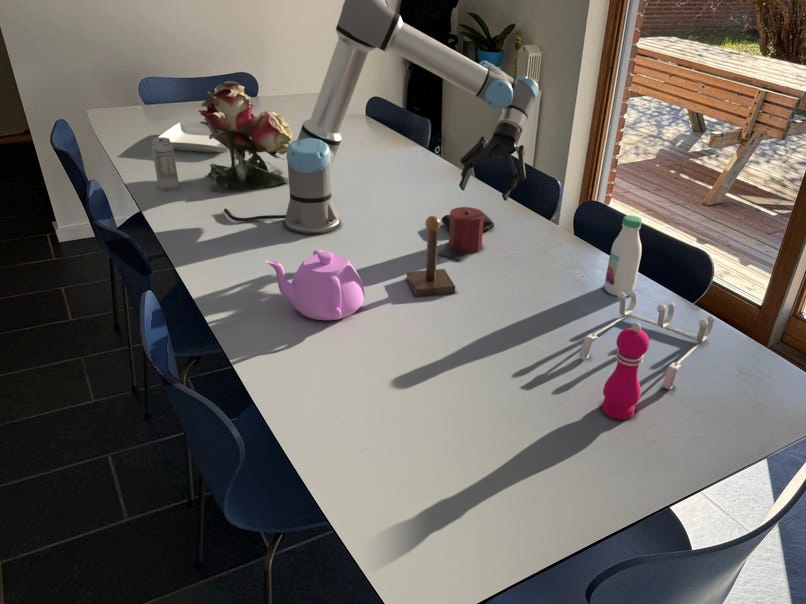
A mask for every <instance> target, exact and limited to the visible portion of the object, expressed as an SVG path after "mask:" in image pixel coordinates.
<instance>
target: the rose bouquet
mask: <svg viewBox="0 0 806 604" xmlns="http://www.w3.org/2000/svg"><path fill="white" fill-rule="evenodd" d="M245 88H246V87H245V86H243V85H240V84H239V82H237V81H229V80H228V81H225V82H224V83H219V84H218V85H217V86H216V87H215V88H214V92H213V93H211V92H210V91H207V92H206V95H207V96H209V97H210V99H209V98H208V99H206V100H204V101H203V102H202V104H201V107H206V109H199V110H198V111H197V112H198V113H199V115H200V116H201V117H204V118H203V121H202V120H201V121H199V123H201V124H202V125H204V126H208V127H209V129H210V131H211V133H212V134H211V135H210V136H209V139H212V138H214V139H215V140H217V141H219V142H220V143H221V144H223V145H224V146H225V147H227V148H228V149H229V151H228V152H229V156H230V161H231V164H230V166H225V165H220V164H219V165H218V164H215V163H210V164H208V166H210V171H209V172H208V174H207V176H208V177H212V178H213V181H212V182H211V183H209V182H208V183H207V185H209V187H210V188H211V189H212V190H213V192H218V193H219V192H220V193H232V192H241V191H248V190H254V189H257V188H262V187H265V188H266V187H274V186H279V185H280V184H283V183H284V184H289V181H287V178H286V177H283V176H282V175H280V174H281V172H280V171H279V170H278V169H277V168H276V167H275V166H274V165H273V164H272V163H271V162H269V161H265V160H263V158H262V156H261V155H259V153H267V154H268V155H270V156H271V157H273V158H275V159H281V160H282V161H284V158H282V157H281V156H279V155H285V154H287V148H288V146H286V145H289V144H290V143H291V142H292V141H291V139H292V138H293V132H292V131H293V130H292V129H291V126H290V124H289V123H288V122H286V121H285V120H284V118H283V116H282V115H280V114H278V113H277V112H276V111H270V110H265V111H262V112H260V113H259V114H258V115H257V116H256V115H254V113H252V112H253V109H254V104H253V103H252V102H251V100H252V98H251V96H249V95H248V94H246V93H245ZM246 153H247V154H248V156H250V157H249V158H248V159H246ZM277 154H279V155H277Z"/></svg>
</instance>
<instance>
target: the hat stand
mask: <svg viewBox="0 0 806 604" xmlns="http://www.w3.org/2000/svg"><path fill="white" fill-rule="evenodd" d="M424 224H425V227H426V229H427V238H426V239H427V240H426V262H425V263H426V265H425V266H426V267H425V270H411V271H410V270H409V271H406V280H407V282H408V284H409V286H410V288H411V290H412V292H413V294H414V295H415V297H427V296H428V297H429V296H438V295H450V294H455V292H456V285H455V284H454V282H453V280H452V279H451V277H450V276H449V274H448V272H447V270H446V269H445V268H439V269H438V268H437V256H438V254H437V251H438V230H439V229H440V228H441V220H440V219H439V218H438V216H435V215H431V216H430V215H429V216H428V217H427V219H425V223H424Z"/></svg>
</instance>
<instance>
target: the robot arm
mask: <svg viewBox="0 0 806 604" xmlns="http://www.w3.org/2000/svg"><path fill="white" fill-rule="evenodd" d="M335 31H336V34H337V36H338V39H337V42H336V44H335V48H334V50H333V53H332V55H331V59H330V62H329V64H328V68H327V71H326V73H325V76H324V79H323V82H322V85H321V88H320V91H319V93H318V96H317V99H316V102H315V104H314V107H313V111H312V114H311V116H310V118H309V119H306V120H304V121H303V123H302V124H301V125H302V126H301V128H300V130H299V134H298V136H297V139H296V140H293V141H290V142H291V143H290V144H289V145H288V144H287V145H288V146H287V147H288V148H287V153H286V155H285V156H286V162H287V175H288V187H289V189H288V190H289V202H288V206H287V209H286V213H285V214H273V215H272V214H270V215H269V214H268V215H266V214H265V215H257V216H250V217H238V216H234V215H232V213H231V212H230V211H229V210H228V208H224V209H223V211H224V213H225V214H226V215H227V216H228V218H230V219H231V220H233V221H236V222H250V221H257V220H271V219H273V220H275V219H277V220H278V219H284V221H285V222H284V224H285V227H286V228H287V229H288V230H290V231H291V232H294V233H297V234H305V235H321V234H326V233H330V232H332V231H334V230H336V229H338V227H339V226H340V217H339V214H338V212H337V209H336V207H335V204H334V201H333V196H332V195H333V194H332V168H333V164H334V161H335V159H336V156H337V153H338V150H339V147H340V145H341V142H342V139H343V137H342V135H341V133H340V130H341V127H342V124H343V122H344V119H345V116H346V113H347V111H348V108H349V105H350V103H351V100H352V97H353V95H354V92H355V89H356V86H357V84H358V81H359V78H360V76H361V73H362V71H363V68H364V65H365V63H366V60H367V57H368V54H369V52H371V51H374V50H376V49H379V50H380V51H383V52H385V53H386V52H388V51H392V52H393V53H395V54H397V55H398V56H400V57H402V58H404V59H406V60H408V61H410V62H412V63H413V64H415V65H417V66H419V67H421V68H423V69H425V70H427V71H429V72H430V73H432V74H434V75H436V76H438V77H440V78H442V79H443V80H445V81H446V82H449V83H451V84H453V85H455V86H457V87H458V88H460V89H462V90H463V91H466V92H468V93H469V94H471V95H473V96H475V97H477V98H478V99H480V100H482V101H484V102H485V103H486V104H487V105H488V106H489V107H490V108H491V109H494V110H498V111H499V110H500V111H501V110H502V113H501V115H500V116H499V119H498V122H497V124H496V126H495V128H494V131H493V133H492V136H491V138H490V139H486V138H485V136H480V138H479V140H478V141H477V143H476V144H474V146H473V147H471V149H469V150H468V151H467V153H465V154H464V155H463V156H462V157H461V158H460V160H459V162H460V163H461V166H463V168H462V171H461V172H460V176H461V180H460V182H459V184H458V186H459V189H461V191H465V189H466V187H467V185H468V183H469V180H470V177H471V175H472V173H473V170H472V169H473V168H474V167H476V166H477V165H479V164H481V163H483V162H484V161H486V160H487V159H491V158H492V157H493V158H495V159H500V160H505V159H507V163H508V165H509V167H510V170H511V173H512V175H511V174H510V175H509V178H508V180H507V182H506V184H505V187H504V189H503V192H502V195H501V197H502V199H503V201H506V202H507V201H508V199H509V196H510V193H511V191H514V190H515V189H516V187H517V184H518V182H519V181H520V180H522V181H525V180H526V179H527V175H526V173H527V172H526V166H525V165H526V164H525V163H526V162H525V155H526V149H525V146H524V145H523V144H521V145H518V143H519V141H520V138H521V136H522V133H523V131H524V128H525V127H526V124H527V122H528V119H529V117H530V115H531V114H530V113H531V112H532V109H533V107H534V106H535V103H536V101H537V97H538V95H539V90H540V89H539V85H538V82H536V81H535V80H534V79H532V78H531V77H527V76H525V75H523V76H518V77H517V78H514V77H512V76H510V75H509V74H507V73H506V72H504V71H503V70H502V69H500V68H498V67H497V66H495V64H493V63H490V62H489V61H487V60H481V61H480V62H479V63H477V62H476V61H474V60H472V59H470V58H469V57H467V56H465V55H463V54H462V53H459V52H458V51H456V50H454V49H452V48H450V47H448V46H447V45H446V44H444V43H441V42H440V41H438V40H436V39H435V38H433V37H431V36H429V35H428V34H426V33H424V32H422V31H420V30H419V29H416V28H415V27H414V26H411V25H410V24H408V23H406V22H404V21H403V19H402V16H401V14H399V13H397V12H395V11H393V10H392V9H391V8H389V5H388V2H387V0H344V2H343V4H342V7H341V12H340V15H339V18H338V21H337V24H336V26H335ZM517 145H518V146H517ZM515 152H516V154H517V157H518V168H519V169H518V170H519V172H518V171H517V169H516V166H515V164H514V160H513V158H512V156H511V155H513V154H514V153H515Z"/></svg>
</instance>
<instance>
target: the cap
mask: <svg viewBox="0 0 806 604" xmlns="http://www.w3.org/2000/svg"><path fill="white" fill-rule="evenodd" d="M449 215H450V230H449V234H448V235H449V237H448V247H446V248H444V249H443V250H441V251H440V252H438V254H437V256H440V257H444V258H447V259H452V260H454V261H458V262H461V261H462V260H464V259H465V258H466V257H468V256H469V255H470V254H475V253H478V252H480V251H481V250H482V247H483V235H484V234H483V233H484V231H483V222H484V211H482V210H481V209H479V208H475V207H469V206H460V207H455V208H452V209H451V210H450V211H449Z"/></svg>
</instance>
